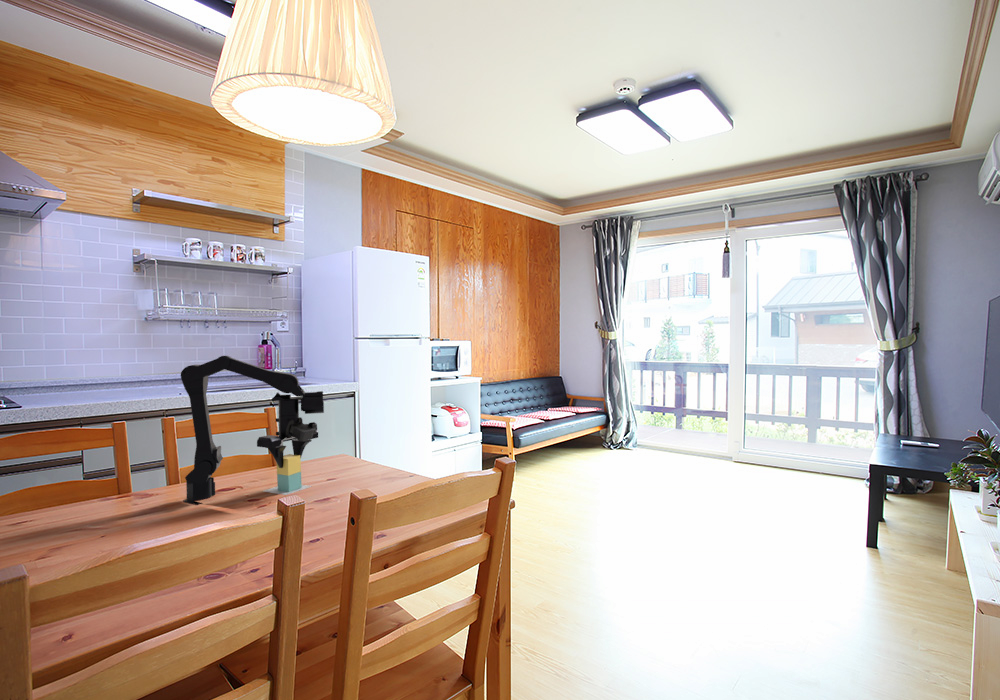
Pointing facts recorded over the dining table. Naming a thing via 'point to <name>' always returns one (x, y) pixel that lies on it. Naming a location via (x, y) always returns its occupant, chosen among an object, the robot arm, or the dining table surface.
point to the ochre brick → (290, 465)
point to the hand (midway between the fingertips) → (289, 465)
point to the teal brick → (289, 482)
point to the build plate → (275, 490)
